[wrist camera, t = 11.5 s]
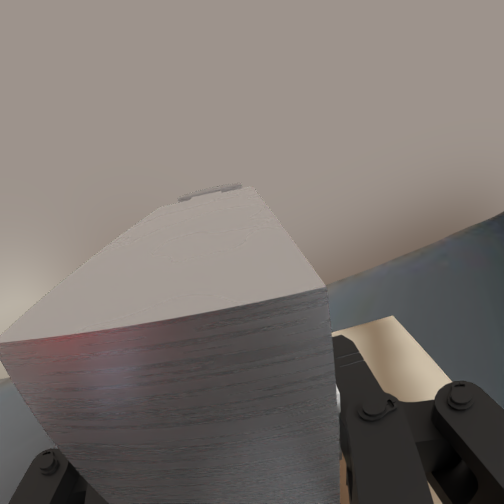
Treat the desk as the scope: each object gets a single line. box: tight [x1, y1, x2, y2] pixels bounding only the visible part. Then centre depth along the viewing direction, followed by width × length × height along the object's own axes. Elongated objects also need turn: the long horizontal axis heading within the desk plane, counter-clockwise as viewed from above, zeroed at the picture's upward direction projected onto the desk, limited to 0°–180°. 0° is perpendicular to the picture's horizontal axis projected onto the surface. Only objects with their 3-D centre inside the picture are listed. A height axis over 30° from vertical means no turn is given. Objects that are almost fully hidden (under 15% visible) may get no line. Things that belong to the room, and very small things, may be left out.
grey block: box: [0, 183, 340, 504], centre depth 9 cm, size 3×11×12 cm, turn 4°
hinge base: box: [332, 316, 452, 504], centre depth 14 cm, size 20×21×2 cm
